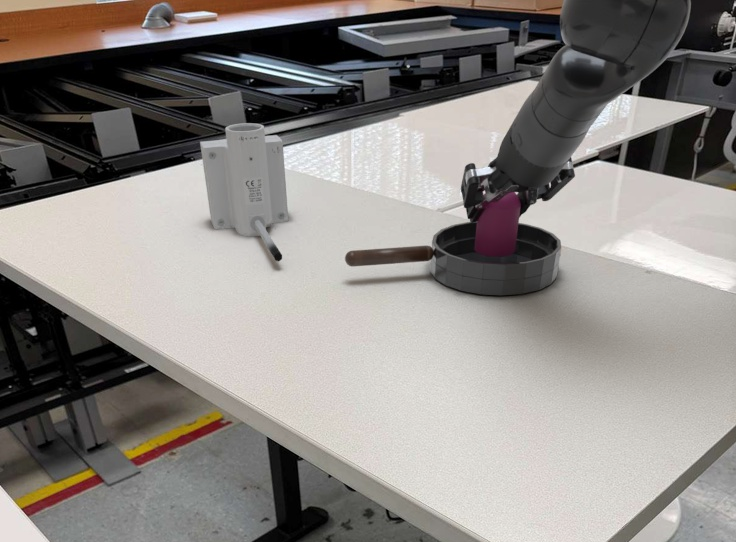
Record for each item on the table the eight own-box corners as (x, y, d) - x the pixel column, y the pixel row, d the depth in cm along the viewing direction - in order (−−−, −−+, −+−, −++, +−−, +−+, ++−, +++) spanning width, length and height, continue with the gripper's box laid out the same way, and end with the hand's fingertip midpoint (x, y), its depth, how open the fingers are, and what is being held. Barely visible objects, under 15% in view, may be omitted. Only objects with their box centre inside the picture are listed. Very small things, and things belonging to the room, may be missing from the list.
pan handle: (431, 257, 97) (432, 242, 96) (435, 262, 95) (435, 247, 94) (344, 263, 96) (343, 248, 94) (346, 269, 94) (345, 254, 93)
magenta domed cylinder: (507, 242, 99) (515, 180, 94) (520, 255, 95) (528, 191, 90) (469, 244, 98) (475, 182, 93) (480, 258, 94) (487, 194, 89)
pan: (531, 248, 106) (535, 217, 103) (574, 293, 93) (581, 259, 90) (419, 256, 104) (420, 224, 101) (447, 303, 91) (449, 268, 88)
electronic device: (282, 213, 121) (274, 113, 111) (321, 267, 102) (315, 152, 92) (210, 221, 118) (196, 120, 109) (236, 278, 99) (222, 161, 90)
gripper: (598, 98, 80) (537, 183, 97) (477, 105, 78) (436, 191, 94) (611, 161, 79) (548, 235, 96) (490, 170, 77) (446, 245, 94)
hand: (492, 213), depth 95 cm, fingers closed on magenta domed cylinder, 5 cm apart
